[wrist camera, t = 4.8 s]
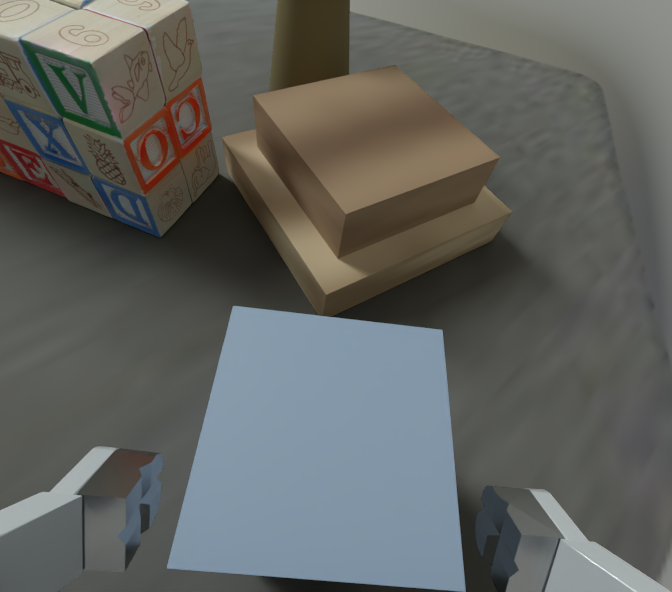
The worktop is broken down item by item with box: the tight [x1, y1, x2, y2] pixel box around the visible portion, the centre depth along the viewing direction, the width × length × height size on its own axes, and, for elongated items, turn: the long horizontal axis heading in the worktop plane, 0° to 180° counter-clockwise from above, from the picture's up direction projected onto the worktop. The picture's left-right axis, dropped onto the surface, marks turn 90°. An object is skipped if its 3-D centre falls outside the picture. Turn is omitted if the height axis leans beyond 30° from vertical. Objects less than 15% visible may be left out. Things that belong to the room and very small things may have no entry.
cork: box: [269, 0, 350, 92], centre depth 24 cm, size 6×6×11 cm
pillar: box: [167, 306, 466, 592], centre depth 11 cm, size 5×5×9 cm
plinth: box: [222, 65, 512, 317], centre depth 21 cm, size 12×12×6 cm
